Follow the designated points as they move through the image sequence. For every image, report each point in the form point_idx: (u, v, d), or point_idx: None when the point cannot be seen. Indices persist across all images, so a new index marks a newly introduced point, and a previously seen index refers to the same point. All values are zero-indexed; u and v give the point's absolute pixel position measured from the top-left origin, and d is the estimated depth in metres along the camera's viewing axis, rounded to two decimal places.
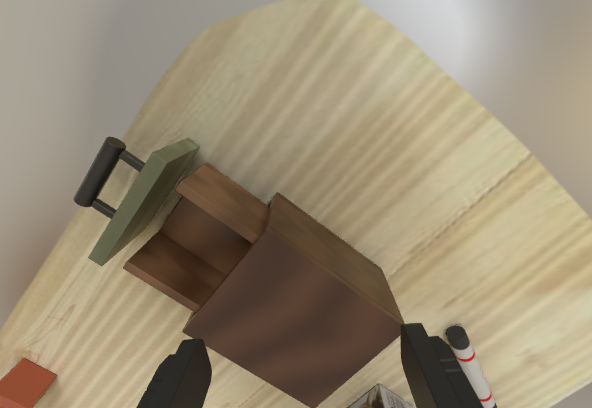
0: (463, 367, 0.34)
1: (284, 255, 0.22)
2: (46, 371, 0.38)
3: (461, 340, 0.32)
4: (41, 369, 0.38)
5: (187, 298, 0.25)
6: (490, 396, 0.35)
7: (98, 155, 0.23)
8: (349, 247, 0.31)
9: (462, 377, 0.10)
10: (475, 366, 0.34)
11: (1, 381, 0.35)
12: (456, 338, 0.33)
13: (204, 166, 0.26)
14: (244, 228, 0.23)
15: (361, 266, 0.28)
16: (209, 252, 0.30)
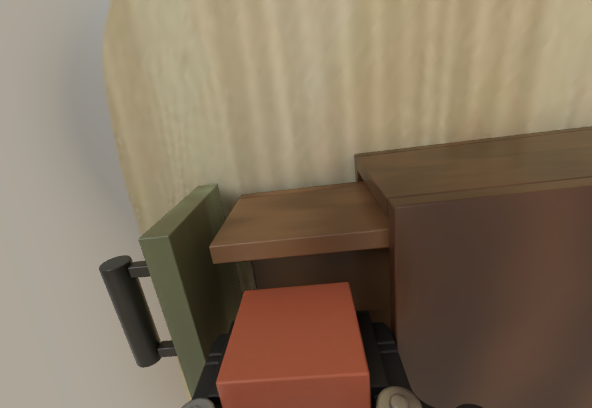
0: None
1: (463, 223, 0.10)
2: (318, 286, 0.12)
3: None
4: (303, 288, 0.12)
5: None
6: None
7: None
8: (522, 136, 0.17)
9: (396, 357, 0.11)
10: None
11: (231, 349, 0.10)
12: None
13: (239, 201, 0.16)
14: (354, 235, 0.11)
15: (581, 141, 0.14)
16: None
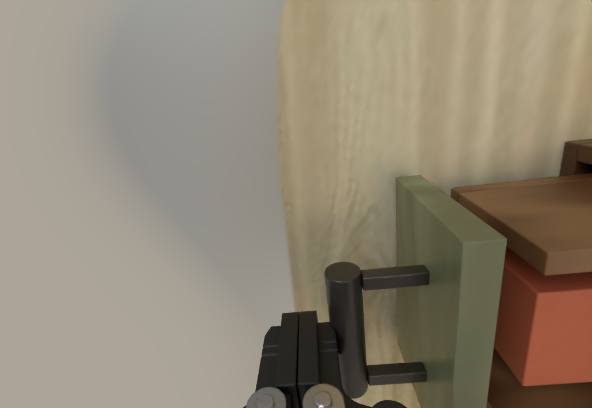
0: None
1: None
2: None
3: None
4: None
5: None
6: None
7: (335, 311, 0.12)
8: None
9: (334, 356, 0.11)
10: None
11: (520, 273, 0.12)
12: None
13: (467, 195, 0.13)
14: None
15: None
16: None
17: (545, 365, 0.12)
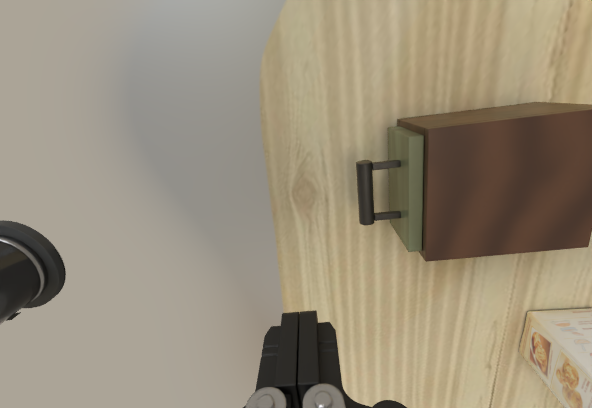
0: None
1: (457, 136, 0.23)
2: None
3: None
4: None
5: None
6: None
7: (360, 179, 0.28)
8: (491, 108, 0.30)
9: (334, 356, 0.11)
10: None
11: None
12: None
13: None
14: None
15: (519, 108, 0.28)
16: None
17: None
